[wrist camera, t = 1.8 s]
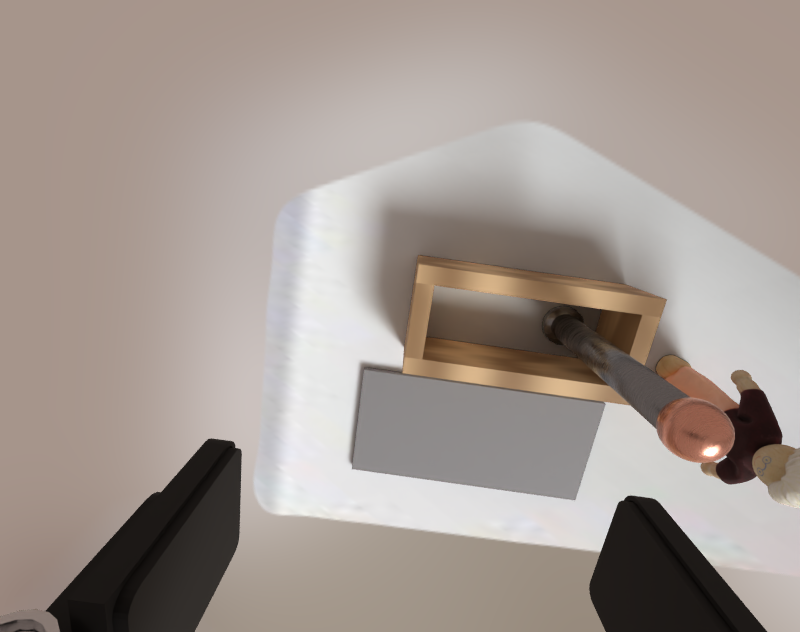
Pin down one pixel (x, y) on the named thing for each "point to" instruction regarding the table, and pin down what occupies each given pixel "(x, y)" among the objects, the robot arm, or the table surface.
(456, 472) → the rubber mat
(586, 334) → the post stand
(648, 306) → the open wooden frame
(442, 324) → the table surface
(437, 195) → the table surface
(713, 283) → the table surface
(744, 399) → the grandmother figurine
